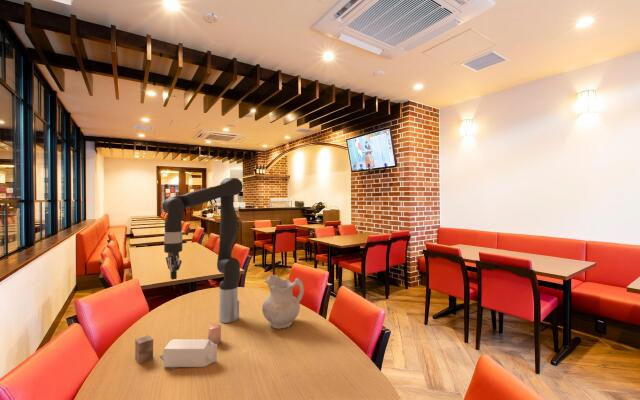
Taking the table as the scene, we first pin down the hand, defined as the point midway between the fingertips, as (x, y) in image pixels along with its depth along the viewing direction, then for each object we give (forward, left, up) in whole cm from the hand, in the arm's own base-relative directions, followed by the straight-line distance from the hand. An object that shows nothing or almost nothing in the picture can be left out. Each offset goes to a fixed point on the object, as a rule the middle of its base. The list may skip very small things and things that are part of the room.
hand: (173, 278), depth 135 cm
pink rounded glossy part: (-11, +17, -27) cm, 34 cm away
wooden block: (+15, +10, -27) cm, 33 cm away
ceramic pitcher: (-45, +24, -28) cm, 58 cm away
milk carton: (+10, +20, -23) cm, 32 cm away
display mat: (+2, +19, -27) cm, 33 cm away
